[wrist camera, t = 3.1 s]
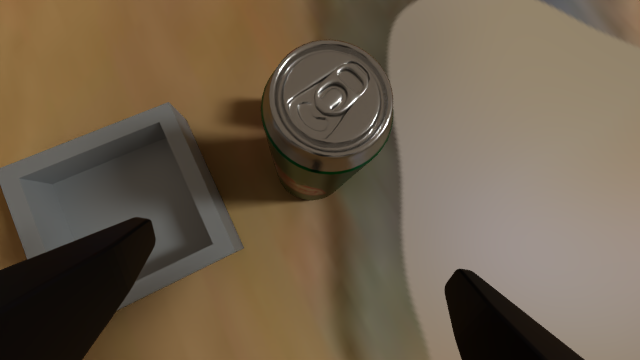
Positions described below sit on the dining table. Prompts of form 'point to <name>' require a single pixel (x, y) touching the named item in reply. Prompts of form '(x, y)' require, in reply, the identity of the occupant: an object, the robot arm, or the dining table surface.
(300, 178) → the soda can
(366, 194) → the dining table surface
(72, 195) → the tray
